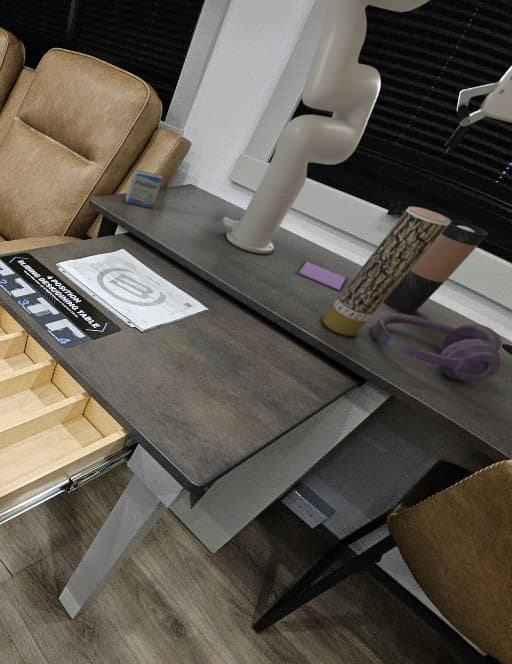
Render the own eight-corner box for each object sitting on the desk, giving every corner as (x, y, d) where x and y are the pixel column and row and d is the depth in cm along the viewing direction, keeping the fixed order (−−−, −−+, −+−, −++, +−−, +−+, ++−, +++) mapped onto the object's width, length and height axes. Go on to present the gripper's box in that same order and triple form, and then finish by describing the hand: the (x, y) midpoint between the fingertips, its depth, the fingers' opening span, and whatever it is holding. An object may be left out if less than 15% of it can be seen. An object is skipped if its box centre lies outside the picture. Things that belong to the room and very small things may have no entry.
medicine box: (125, 203, 135) (136, 173, 129) (125, 198, 138) (135, 168, 132) (151, 208, 134) (163, 178, 129) (150, 203, 138) (161, 174, 132)
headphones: (485, 360, 95) (373, 326, 106) (513, 326, 90) (393, 293, 101) (481, 397, 84) (357, 355, 95) (513, 361, 79) (378, 320, 90)
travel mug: (422, 317, 108) (496, 238, 94) (390, 309, 108) (459, 229, 95) (407, 300, 114) (475, 224, 100) (376, 293, 114) (440, 216, 101)
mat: (297, 273, 116) (298, 272, 115) (305, 262, 122) (306, 261, 122) (338, 290, 112) (339, 289, 111) (344, 278, 118) (345, 277, 118)
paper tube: (326, 315, 101) (411, 204, 84) (358, 330, 98) (453, 218, 81) (317, 325, 97) (405, 210, 80) (350, 341, 94) (448, 225, 77)
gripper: (658, 47, 63) (541, 175, 74) (508, 23, 69) (422, 143, 81) (677, 46, 58) (548, 183, 69) (514, 19, 65) (421, 148, 76)
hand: (481, 161), depth 75 cm, fingers open, 9 cm apart
